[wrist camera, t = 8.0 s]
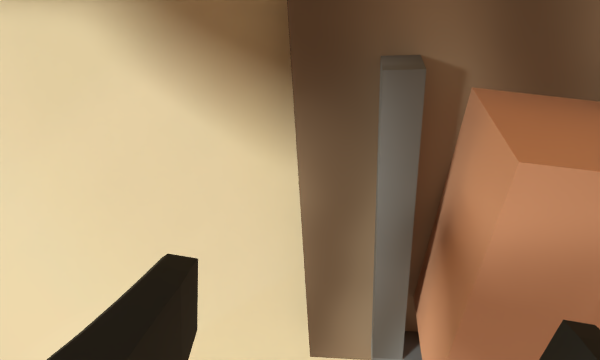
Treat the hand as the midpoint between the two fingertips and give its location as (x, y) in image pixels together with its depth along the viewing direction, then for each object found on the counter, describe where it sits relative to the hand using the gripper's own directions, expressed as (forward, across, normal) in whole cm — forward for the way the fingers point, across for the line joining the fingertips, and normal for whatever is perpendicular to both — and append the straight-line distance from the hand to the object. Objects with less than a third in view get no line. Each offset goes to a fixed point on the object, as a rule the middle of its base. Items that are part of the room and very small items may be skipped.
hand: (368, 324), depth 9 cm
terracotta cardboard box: (+8, -5, +2) cm, 9 cm away
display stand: (+9, -5, +2) cm, 11 cm away
